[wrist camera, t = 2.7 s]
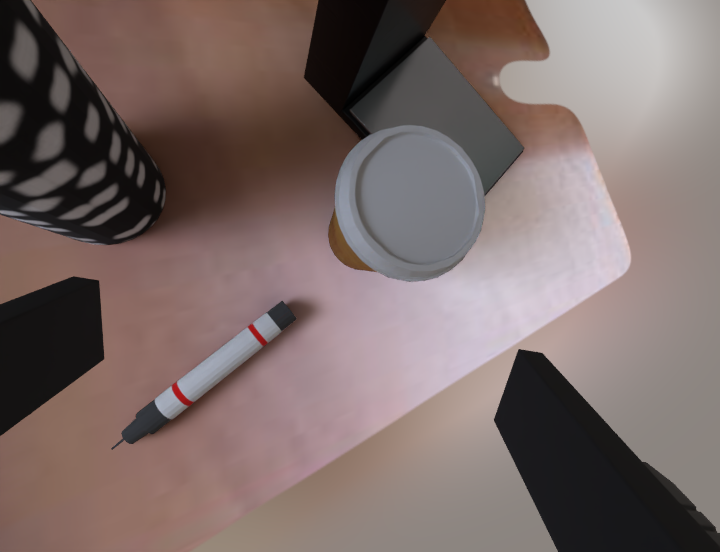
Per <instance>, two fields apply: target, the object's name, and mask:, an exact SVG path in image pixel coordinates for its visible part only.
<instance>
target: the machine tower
mask: <svg viewBox="0 0 720 552" xmlns="http://www.w3.org/2000/svg"><path fill="white" fill-rule="evenodd" d="M445 1H446V0H319V1H318V6H317V11H316V17H315V22H314V27H313V32H312V38H311V43H310V48H309V54H308V59H307V64H306V69H305V75H304V78H305V79H306V80H307V81H308V82H309V84H310V85H311V86H312V87H313V88H314V89H315V90H316V91H317V92H318V93H319V94H320V95H321V96H322V97H323V98H324V100H325V101H326V102H327V103H328V104H329V105H330V106H331V107H332V108H333V109H334V110H335V111H336V112H337V113H338V114H339V115H341V112H342V110H343V109H344V108H346V107H347V106H348V105H349V104H350V103H351V102H352V101H353V100H354V99H355V98H357V97H358V96H359V95H360V94H361V93H362V92H363V91H364V90H365V89H366V88H368V87H369V86H370V85H371V84H372V83H373V82H374V81H375V80H376V79H378V78H379V77H380V76H381V75H382V74H383V73H384V72H385V71H386V70H387V69H389V68H390V67H391V66H392V65H393V64H394V63H395V62H396V61H397V60H398V59H400V58H401V57H402V56H403V55H404V54H405V53H406V52H407V51H408V50H410V49H411V48H412V47H413V46H414V45H415V44H416V43H417V42H418V41H419V40H421V39H422V38H423V37H424V36H425V34H426V32H427V31H428V29H429V28H430V26H431V24H432V23H433V21H434V19H435V18H436V16H437V14H438V13H439V11H440V10H441V8H442V6H443V5H444V3H445Z"/></svg>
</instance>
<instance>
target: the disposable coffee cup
mask: <svg viewBox="0 0 720 552" xmlns="http://www.w3.org/2000/svg"><path fill="white" fill-rule="evenodd" d="M334 197H335V209H334V212H333V216H332V219H331V222H330V225H329V233H328V236H329V243H330V246H331V249H332V250H333V252H334V254H335V255H336V257H337V258H338V259H339V260H340V261H341V262H342V263H343V264H345V265H347V266H348V267H351V268H353V269H357V270H366V271H374V272H379V273H381V274H383V275H385V276H387V277H389V278H393V279H398V280H403V281H409V282H411V281H425V280H429V279H433V278H437V277H439V276H441V275H443V274H444V273H446V272H448V271H450V270H451V269H453V268H454V267H455V266H456V265H457V264H458V263H459V262H460V261H462V259H463V258H464V257H465V255H466V254H467V252H468V251H469V250H470V248H471V247H472V246H473V244H474V243H475V242H476V239H477V237H478V235H479V233H480V231H481V227H482V223H483V218H484V212H485V199H484V191H483V187H482V182H481V179H480V177H479V174H478V172H477V169H476V167H475V166H474V164H473V162H472V161H471V159H470V158H469V157H468V155H467V154H466V153H465V151H464V150H463V149H462V148H461V147H460V146H459V145H458V144H456V143H455V142H454V141H453V140H452V139H450V138H449V137H448V136H446V135H444V134H442V133H440V132H438V131H436V130H433V129H430V128H427V127H423V126H415V125H403V126H398V127H394V128H389V129H383V130H380V131H378V132H376V133H373V134H371V135H369V136H367V137H366V138H364V139H363V140H361V141H360V142H359V143H358V144H357V145H356V146H355V147H354V148H353V149H352V150H351V151H350V153H349V154H348V156H347V157H346V158H345V160H344V162H343V164H342V166H341V168H340V171H339V174H338V177H337V181H336V188H335V195H334Z"/></svg>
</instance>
